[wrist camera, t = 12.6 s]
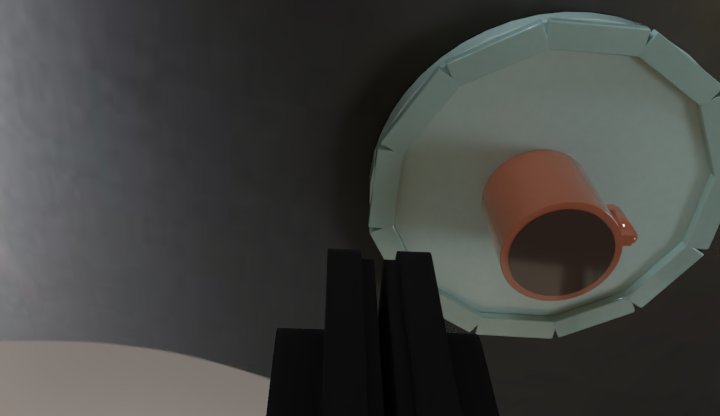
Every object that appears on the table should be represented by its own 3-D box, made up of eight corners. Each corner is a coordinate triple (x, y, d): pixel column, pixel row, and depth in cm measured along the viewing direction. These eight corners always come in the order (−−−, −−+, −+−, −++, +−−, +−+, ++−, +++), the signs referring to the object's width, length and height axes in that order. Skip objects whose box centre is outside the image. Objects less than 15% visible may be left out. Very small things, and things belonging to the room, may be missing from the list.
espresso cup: (476, 241, 40) (493, 302, 35) (487, 149, 37) (508, 203, 32) (601, 241, 40) (635, 301, 35) (623, 148, 37) (663, 202, 32)
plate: (301, 223, 40) (299, 241, 39) (535, -74, 32) (544, -66, 30) (549, 362, 47) (556, 382, 45) (798, 146, 38) (817, 161, 37)
